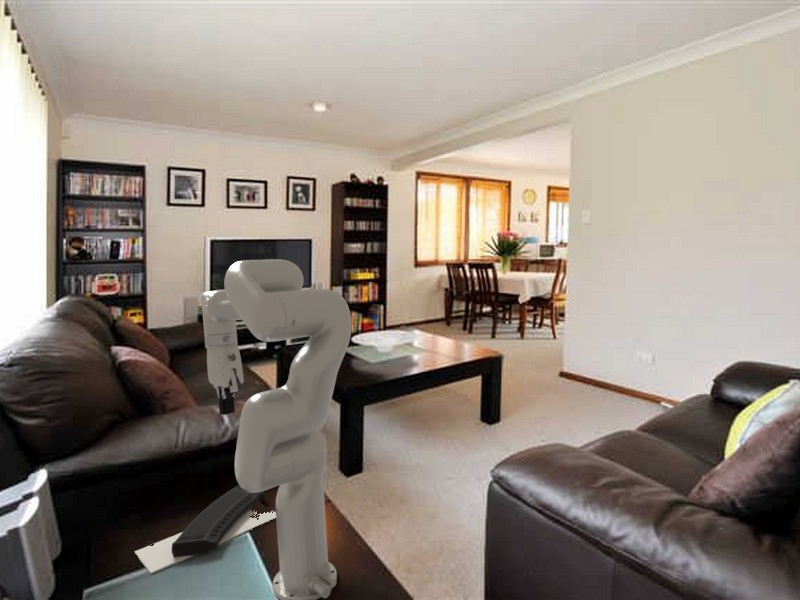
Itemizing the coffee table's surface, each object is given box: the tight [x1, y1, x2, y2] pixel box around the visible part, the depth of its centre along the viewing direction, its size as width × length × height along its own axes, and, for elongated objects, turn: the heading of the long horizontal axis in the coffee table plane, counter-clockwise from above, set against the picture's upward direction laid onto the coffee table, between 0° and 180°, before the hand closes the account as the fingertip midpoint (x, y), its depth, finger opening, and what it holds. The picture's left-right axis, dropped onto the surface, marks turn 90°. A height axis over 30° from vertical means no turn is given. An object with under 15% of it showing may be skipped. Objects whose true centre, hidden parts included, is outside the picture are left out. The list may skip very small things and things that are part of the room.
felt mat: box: [134, 509, 276, 575], centre depth 118 cm, size 12×31×1 cm, turn 134°
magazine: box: [172, 484, 266, 558], centre depth 121 cm, size 17×3×30 cm
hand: (227, 413), depth 122 cm, fingers closed
